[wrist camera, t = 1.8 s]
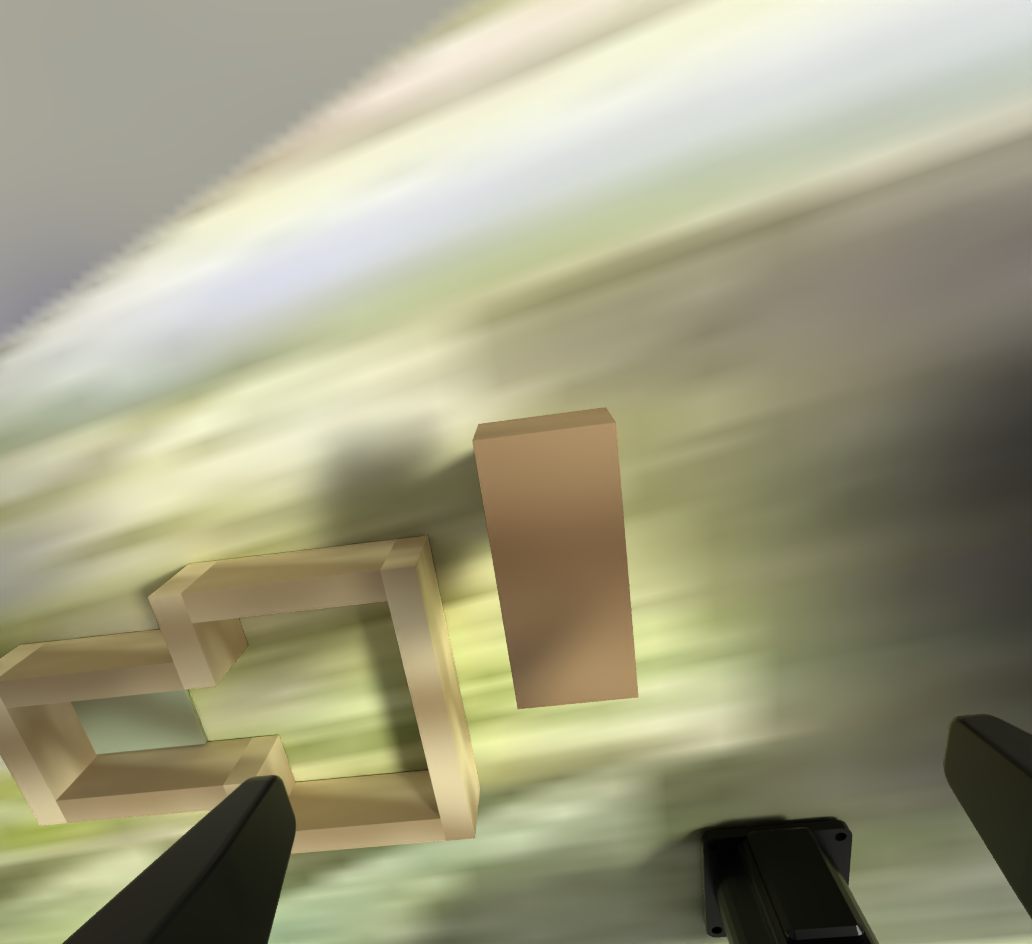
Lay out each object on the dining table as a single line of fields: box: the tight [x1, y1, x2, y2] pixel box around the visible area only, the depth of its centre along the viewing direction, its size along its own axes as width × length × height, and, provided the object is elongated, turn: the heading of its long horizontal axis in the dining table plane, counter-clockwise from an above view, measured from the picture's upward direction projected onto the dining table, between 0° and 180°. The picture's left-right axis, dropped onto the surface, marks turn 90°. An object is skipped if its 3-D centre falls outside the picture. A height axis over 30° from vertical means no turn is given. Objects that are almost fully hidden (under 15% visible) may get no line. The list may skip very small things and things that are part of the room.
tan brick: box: [473, 408, 638, 709], centre depth 16 cm, size 7×3×8 cm, turn 8°
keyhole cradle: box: [0, 535, 480, 854], centre depth 22 cm, size 12×18×2 cm
